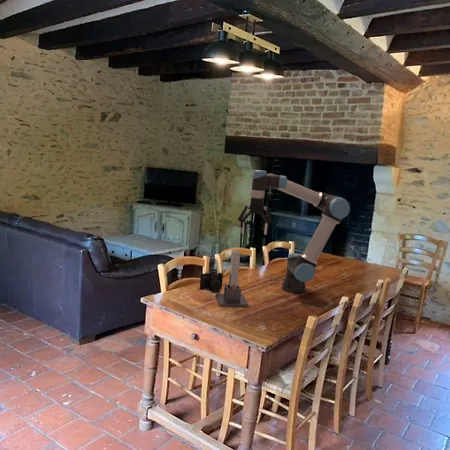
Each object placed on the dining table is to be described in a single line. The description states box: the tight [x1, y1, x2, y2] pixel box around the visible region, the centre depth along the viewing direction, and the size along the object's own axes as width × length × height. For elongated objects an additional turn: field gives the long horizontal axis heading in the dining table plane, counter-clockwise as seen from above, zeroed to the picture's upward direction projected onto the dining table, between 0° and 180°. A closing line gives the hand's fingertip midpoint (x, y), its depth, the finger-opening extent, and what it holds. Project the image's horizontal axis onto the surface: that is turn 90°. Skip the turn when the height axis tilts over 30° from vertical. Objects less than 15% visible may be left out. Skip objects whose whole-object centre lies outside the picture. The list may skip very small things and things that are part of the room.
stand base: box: [215, 283, 250, 308], centre depth 234 cm, size 16×16×10 cm
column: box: [228, 250, 241, 289], centre depth 232 cm, size 4×6×21 cm, turn 9°
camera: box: [199, 271, 224, 292], centre depth 251 cm, size 14×11×10 cm
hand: (253, 233), depth 243 cm, fingers open, 13 cm apart
